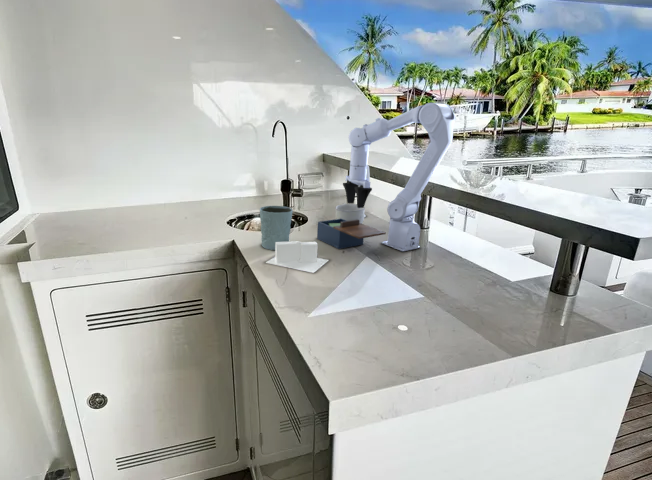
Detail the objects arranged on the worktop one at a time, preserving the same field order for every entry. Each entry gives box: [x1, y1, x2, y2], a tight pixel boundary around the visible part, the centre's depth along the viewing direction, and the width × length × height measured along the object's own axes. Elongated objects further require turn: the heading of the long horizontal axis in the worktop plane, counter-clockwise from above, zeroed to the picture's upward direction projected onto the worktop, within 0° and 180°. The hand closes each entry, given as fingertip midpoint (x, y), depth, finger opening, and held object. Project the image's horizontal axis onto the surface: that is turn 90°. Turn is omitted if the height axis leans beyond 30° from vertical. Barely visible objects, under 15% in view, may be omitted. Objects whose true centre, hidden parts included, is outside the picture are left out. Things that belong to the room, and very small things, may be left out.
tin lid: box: [333, 219, 387, 239], centre depth 117 cm, size 12×10×2 cm
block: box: [328, 223, 340, 227], centre depth 127 cm, size 5×5×5 cm
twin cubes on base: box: [265, 240, 329, 274], centre depth 107 cm, size 15×11×6 cm
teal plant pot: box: [259, 205, 294, 251], centre depth 119 cm, size 10×10×12 cm
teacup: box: [334, 202, 366, 224], centre depth 144 cm, size 14×11×8 cm
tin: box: [316, 218, 364, 250], centre depth 126 cm, size 12×10×6 cm
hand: (355, 205), depth 132 cm, fingers open, 7 cm apart
